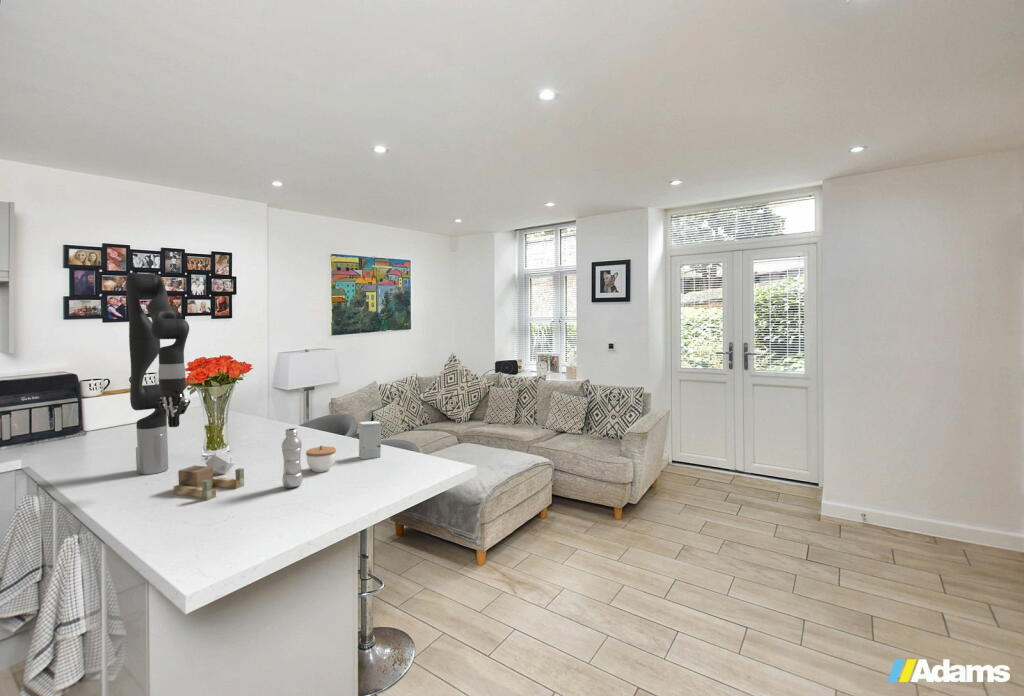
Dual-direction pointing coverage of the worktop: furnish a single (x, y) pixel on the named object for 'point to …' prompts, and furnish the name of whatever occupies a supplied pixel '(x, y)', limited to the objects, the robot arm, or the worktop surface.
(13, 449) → the worktop surface
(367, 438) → the skincare box
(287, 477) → the plastic bottle
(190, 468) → the block
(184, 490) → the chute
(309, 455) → the lidded jar
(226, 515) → the worktop surface
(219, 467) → the die
